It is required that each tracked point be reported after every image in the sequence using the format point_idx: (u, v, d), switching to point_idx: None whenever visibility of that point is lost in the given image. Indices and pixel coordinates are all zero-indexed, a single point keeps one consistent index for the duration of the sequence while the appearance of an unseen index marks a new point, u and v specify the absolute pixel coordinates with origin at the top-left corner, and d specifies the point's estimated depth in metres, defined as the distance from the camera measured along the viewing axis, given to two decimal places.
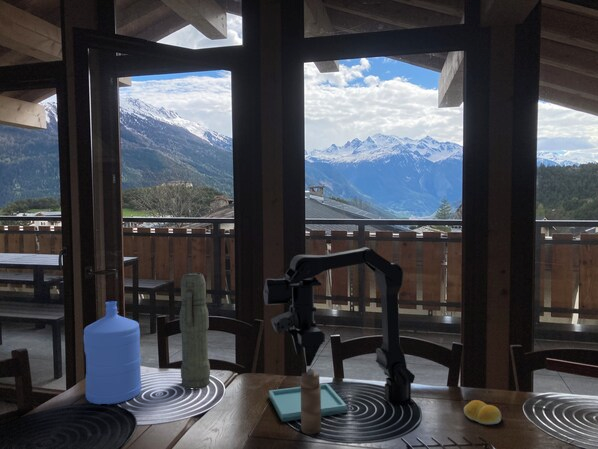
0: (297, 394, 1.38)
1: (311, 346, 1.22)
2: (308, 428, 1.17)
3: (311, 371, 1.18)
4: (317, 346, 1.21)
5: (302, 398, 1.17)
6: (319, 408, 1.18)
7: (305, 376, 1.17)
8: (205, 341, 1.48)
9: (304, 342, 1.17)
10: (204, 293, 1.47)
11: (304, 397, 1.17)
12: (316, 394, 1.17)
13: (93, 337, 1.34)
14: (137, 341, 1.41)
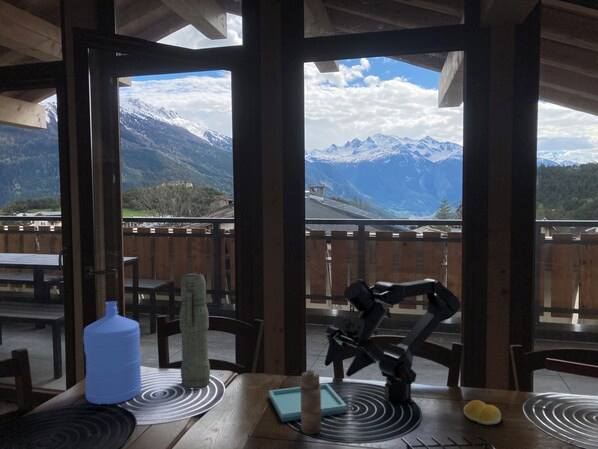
0: (297, 394, 1.38)
1: (362, 360, 1.20)
2: (308, 428, 1.17)
3: (311, 371, 1.18)
4: (367, 363, 1.20)
5: (302, 398, 1.17)
6: (319, 408, 1.18)
7: (305, 376, 1.17)
8: (205, 341, 1.48)
9: (370, 349, 1.17)
10: (204, 293, 1.48)
11: (304, 397, 1.17)
12: (316, 394, 1.17)
13: (93, 337, 1.34)
14: (137, 341, 1.41)
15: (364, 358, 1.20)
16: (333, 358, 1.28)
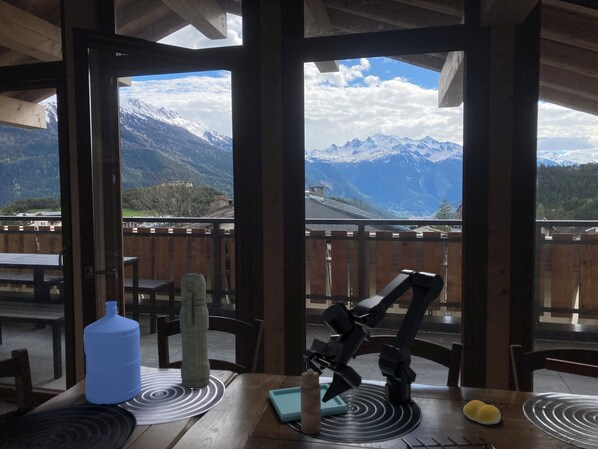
0: (297, 394, 1.38)
1: (339, 385, 1.16)
2: (308, 428, 1.17)
3: (311, 371, 1.18)
4: (344, 389, 1.16)
5: (302, 398, 1.17)
6: (319, 408, 1.18)
7: (305, 376, 1.17)
8: (205, 341, 1.48)
9: (347, 375, 1.13)
10: (204, 293, 1.48)
11: (304, 397, 1.17)
12: (316, 394, 1.17)
13: (93, 337, 1.34)
14: (137, 341, 1.41)
15: (341, 383, 1.17)
16: None
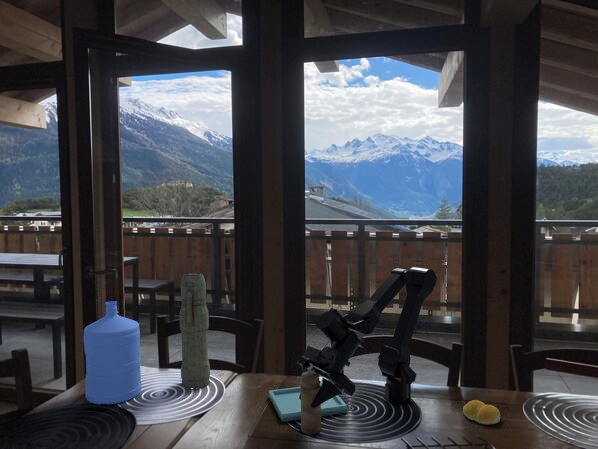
0: (297, 394, 1.38)
1: (328, 390, 1.17)
2: (308, 428, 1.17)
3: (311, 371, 1.18)
4: (333, 394, 1.17)
5: (302, 398, 1.17)
6: (319, 408, 1.18)
7: (305, 376, 1.17)
8: (205, 341, 1.48)
9: (340, 383, 1.12)
10: (204, 293, 1.48)
11: (304, 397, 1.17)
12: (316, 394, 1.17)
13: (93, 337, 1.34)
14: (137, 341, 1.41)
15: (330, 389, 1.17)
16: None
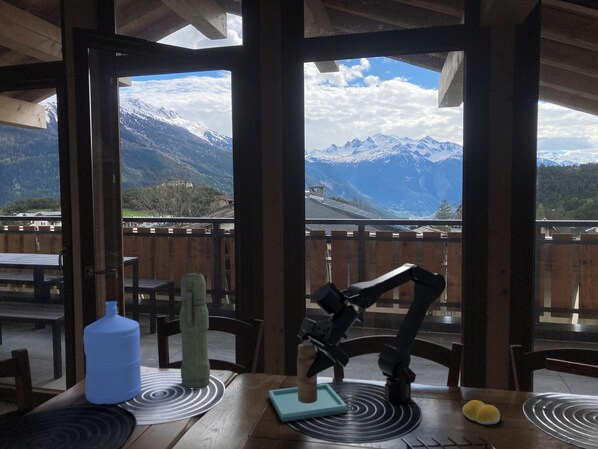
0: (297, 394, 1.38)
1: (323, 361, 1.19)
2: (304, 398, 1.20)
3: (307, 342, 1.21)
4: (328, 365, 1.19)
5: (298, 368, 1.21)
6: (314, 378, 1.20)
7: (301, 347, 1.20)
8: (205, 341, 1.48)
9: (332, 353, 1.14)
10: (204, 293, 1.48)
11: (299, 367, 1.20)
12: None
13: (93, 337, 1.34)
14: (137, 341, 1.41)
15: (325, 360, 1.20)
16: None
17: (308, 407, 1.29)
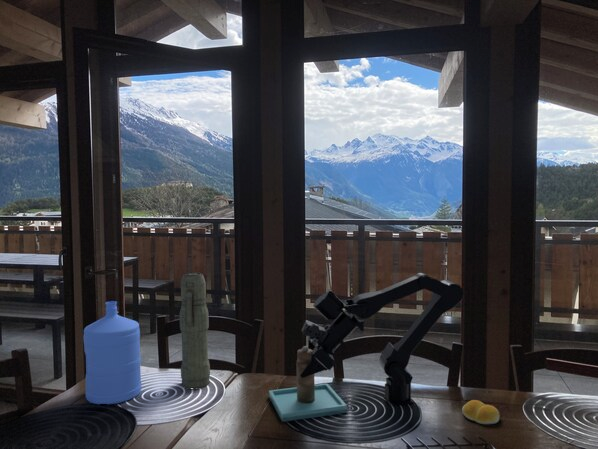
0: None
1: (316, 365, 1.28)
2: (299, 397, 1.33)
3: (304, 348, 1.33)
4: (320, 369, 1.28)
5: None
6: (309, 382, 1.32)
7: (299, 351, 1.33)
8: (205, 341, 1.48)
9: (315, 355, 1.24)
10: (204, 293, 1.48)
11: (297, 369, 1.33)
12: None
13: (93, 337, 1.34)
14: (137, 341, 1.41)
15: (318, 363, 1.28)
16: None
17: (308, 407, 1.29)
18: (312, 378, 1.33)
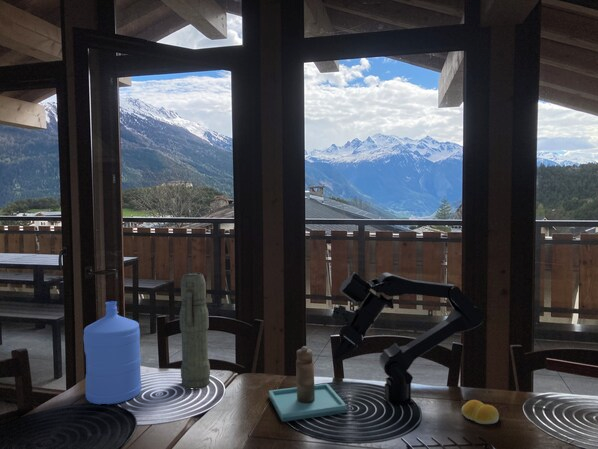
0: None
1: (347, 344, 1.28)
2: (299, 397, 1.33)
3: (304, 348, 1.33)
4: (351, 348, 1.27)
5: (296, 370, 1.34)
6: (309, 382, 1.32)
7: (298, 351, 1.33)
8: (205, 341, 1.48)
9: (342, 332, 1.25)
10: (204, 293, 1.48)
11: (296, 369, 1.33)
12: (305, 369, 1.31)
13: (93, 337, 1.34)
14: (137, 341, 1.41)
15: (348, 343, 1.28)
16: None
17: (308, 407, 1.29)
18: (312, 378, 1.32)
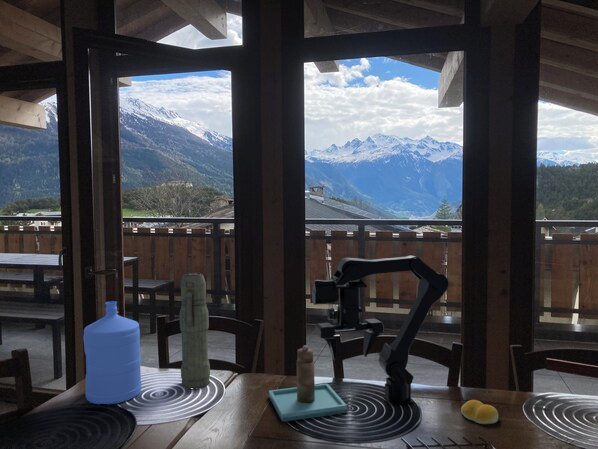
0: None
1: None
2: (300, 397, 1.33)
3: (304, 347, 1.33)
4: (330, 343, 1.29)
5: None
6: (310, 381, 1.32)
7: (299, 350, 1.34)
8: (205, 341, 1.48)
9: (315, 331, 1.33)
10: (204, 293, 1.48)
11: (297, 368, 1.33)
12: (306, 368, 1.32)
13: (93, 337, 1.34)
14: (137, 341, 1.41)
15: None
16: (366, 347, 1.33)
17: (308, 407, 1.29)
18: (312, 377, 1.33)
